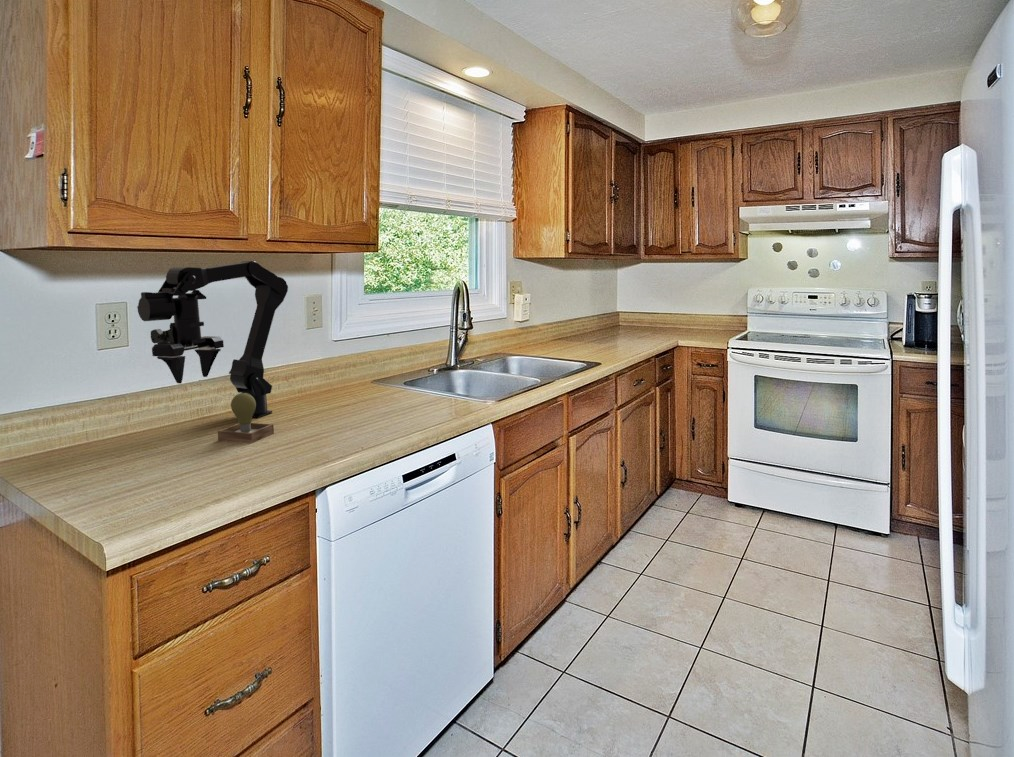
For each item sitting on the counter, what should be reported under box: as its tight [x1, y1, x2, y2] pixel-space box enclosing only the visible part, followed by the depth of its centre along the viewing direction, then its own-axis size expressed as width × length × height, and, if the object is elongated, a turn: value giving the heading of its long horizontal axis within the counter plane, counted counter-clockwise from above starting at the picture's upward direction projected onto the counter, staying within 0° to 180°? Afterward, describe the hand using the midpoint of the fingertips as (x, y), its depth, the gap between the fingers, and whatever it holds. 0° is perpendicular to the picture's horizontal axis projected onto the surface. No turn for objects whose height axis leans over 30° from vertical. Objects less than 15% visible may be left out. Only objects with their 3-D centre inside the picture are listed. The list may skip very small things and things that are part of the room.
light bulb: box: [230, 393, 256, 433], centre depth 153 cm, size 6×6×10 cm
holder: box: [217, 422, 275, 444], centre depth 154 cm, size 9×9×2 cm
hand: (192, 379), depth 161 cm, fingers open, 9 cm apart
